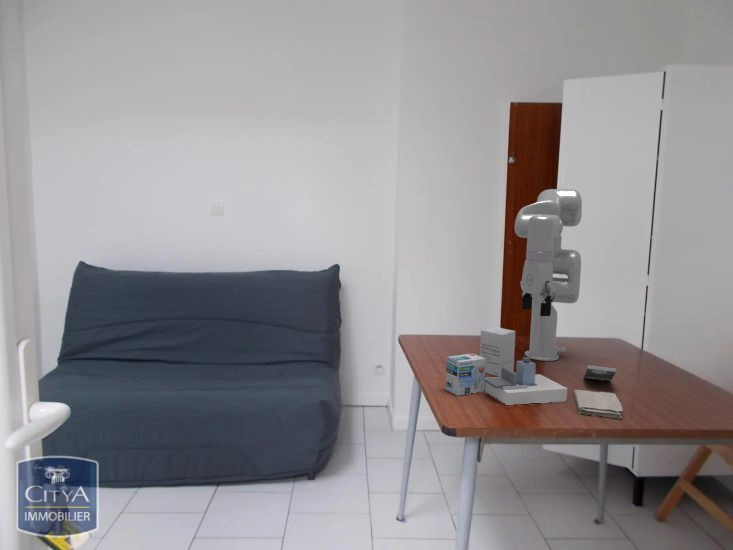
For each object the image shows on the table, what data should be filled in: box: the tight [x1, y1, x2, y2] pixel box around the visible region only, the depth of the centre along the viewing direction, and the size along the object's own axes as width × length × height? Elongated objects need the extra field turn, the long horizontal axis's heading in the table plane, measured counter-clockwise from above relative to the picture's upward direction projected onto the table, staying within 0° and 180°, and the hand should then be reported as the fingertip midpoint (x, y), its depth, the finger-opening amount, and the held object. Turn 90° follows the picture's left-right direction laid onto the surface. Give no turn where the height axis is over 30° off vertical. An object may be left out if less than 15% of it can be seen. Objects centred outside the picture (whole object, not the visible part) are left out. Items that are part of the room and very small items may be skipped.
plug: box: [515, 356, 537, 386], centre depth 161 cm, size 4×4×12 cm
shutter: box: [484, 367, 517, 388], centre depth 158 cm, size 7×7×4 cm
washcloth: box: [573, 389, 624, 420], centre depth 154 cm, size 12×18×3 cm, turn 164°
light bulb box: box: [445, 353, 486, 397], centre depth 164 cm, size 11×7×11 cm, turn 118°
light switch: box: [582, 365, 617, 382], centre depth 173 cm, size 8×6×14 cm
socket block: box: [484, 373, 568, 406], centre depth 161 cm, size 20×14×5 cm
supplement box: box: [479, 326, 516, 377], centre depth 184 cm, size 9×9×15 cm
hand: (535, 312), depth 161 cm, fingers open, 9 cm apart
